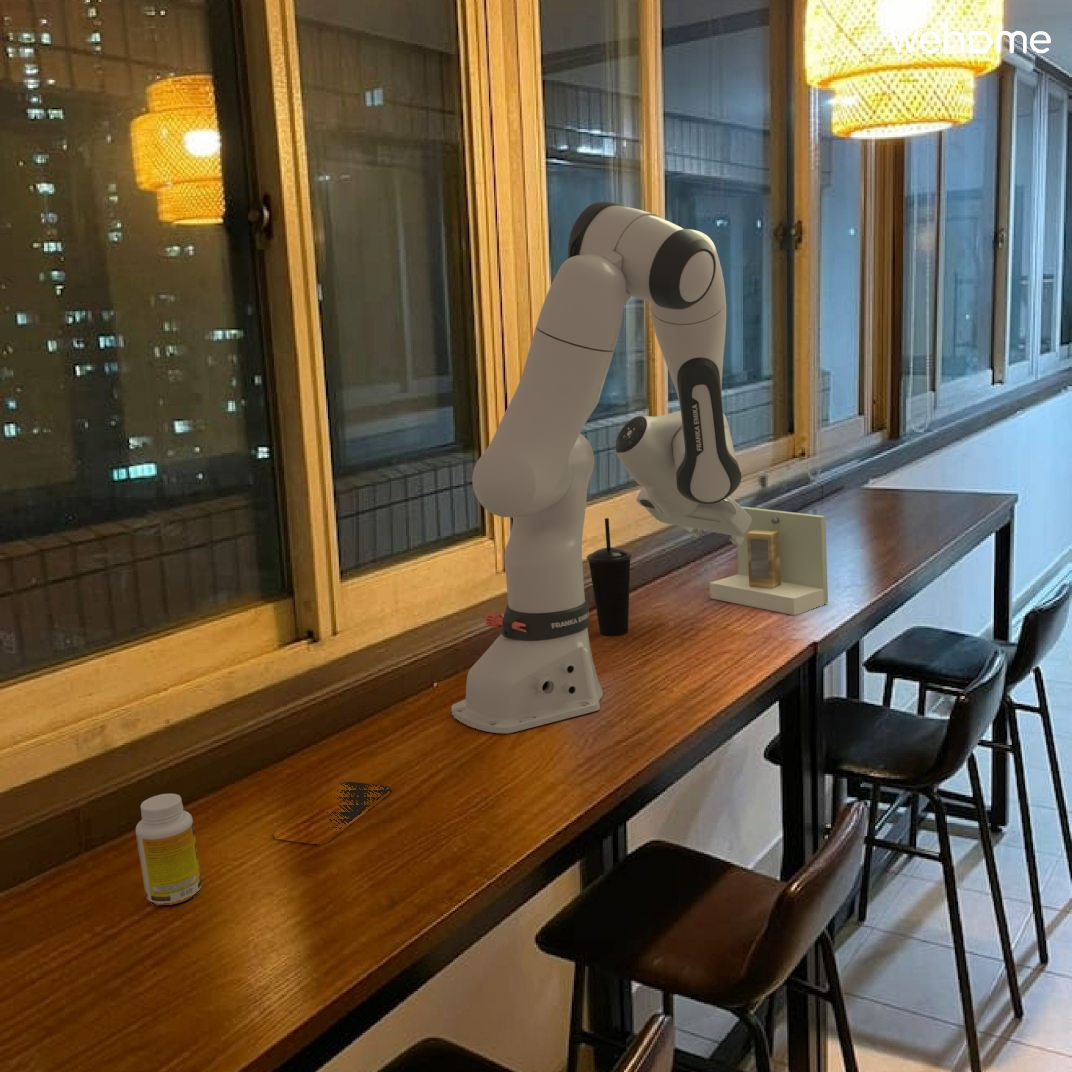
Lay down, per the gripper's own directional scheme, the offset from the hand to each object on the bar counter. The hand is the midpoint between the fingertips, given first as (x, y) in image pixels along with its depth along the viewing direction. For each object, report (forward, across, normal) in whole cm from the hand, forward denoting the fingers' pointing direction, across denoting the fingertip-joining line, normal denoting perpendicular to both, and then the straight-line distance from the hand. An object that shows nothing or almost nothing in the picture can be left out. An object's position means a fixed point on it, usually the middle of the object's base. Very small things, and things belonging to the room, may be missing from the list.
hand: (719, 537), depth 202 cm
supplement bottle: (-68, -26, +89) cm, 115 cm away
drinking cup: (-4, +6, +24) cm, 25 cm away
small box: (+14, -2, 0) cm, 15 cm away
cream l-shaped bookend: (+16, -2, +2) cm, 17 cm away
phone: (-53, -22, +74) cm, 94 cm away
